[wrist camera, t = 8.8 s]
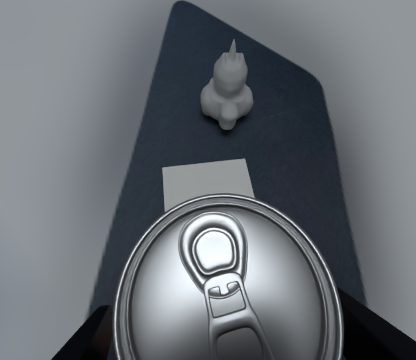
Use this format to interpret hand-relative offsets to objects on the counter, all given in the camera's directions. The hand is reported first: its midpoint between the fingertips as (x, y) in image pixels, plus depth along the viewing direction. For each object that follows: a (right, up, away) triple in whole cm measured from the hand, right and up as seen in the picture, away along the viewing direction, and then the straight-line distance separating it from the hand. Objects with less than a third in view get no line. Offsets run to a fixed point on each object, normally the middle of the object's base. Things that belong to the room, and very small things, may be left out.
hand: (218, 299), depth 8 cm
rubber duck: (+1, +12, +15) cm, 19 cm away
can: (0, -2, +8) cm, 8 cm away
